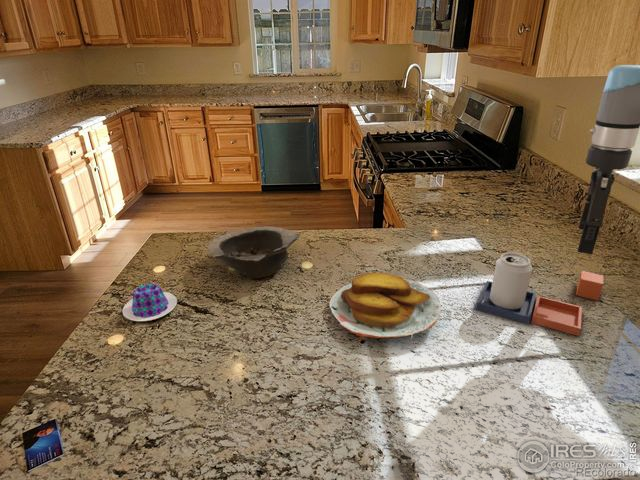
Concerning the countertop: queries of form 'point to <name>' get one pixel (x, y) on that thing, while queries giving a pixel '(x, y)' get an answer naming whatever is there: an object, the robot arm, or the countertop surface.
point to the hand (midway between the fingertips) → (584, 240)
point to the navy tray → (516, 315)
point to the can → (510, 281)
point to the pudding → (149, 303)
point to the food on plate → (385, 306)
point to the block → (589, 285)
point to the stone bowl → (253, 250)
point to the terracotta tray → (557, 315)
